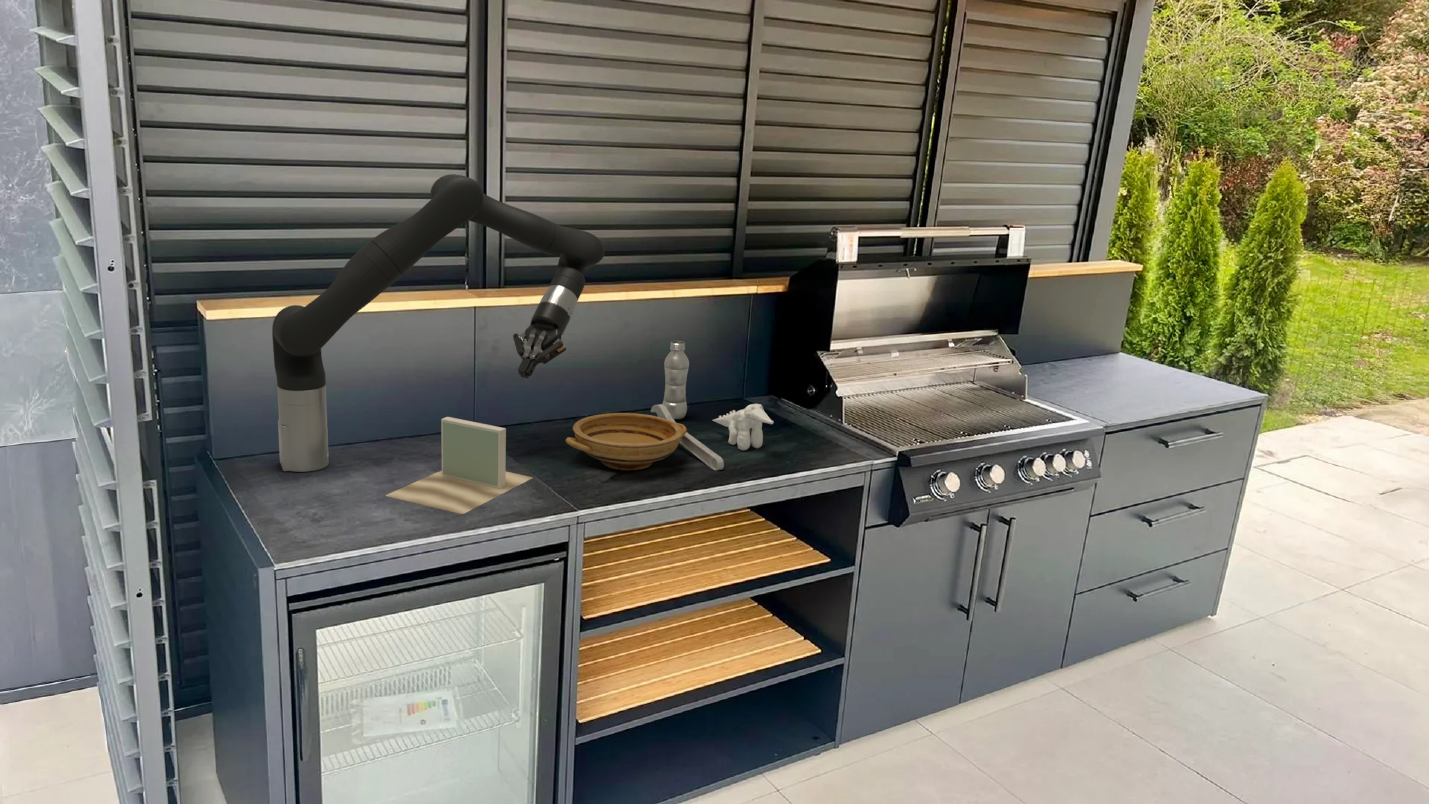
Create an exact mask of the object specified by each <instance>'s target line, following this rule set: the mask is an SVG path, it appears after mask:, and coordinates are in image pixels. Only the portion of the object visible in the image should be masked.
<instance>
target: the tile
mask: <svg viewBox="0 0 1429 804" xmlns="http://www.w3.org/2000/svg"><path fill="white" fill-rule="evenodd" d="M440 421H441V422H440V423H441V424H440V425H441V427H440V428H441V429H440V430H441V431H440V433H441V435H440V437H441V438H440V439H441V443H440V444H441V470H442V476H446V477H450V478H455V479H459V480H464V481H468V482H473V483H477V484H482V485H486V486H490V487H495V488H499V489H500V488H502V487H504V486H505V472H507V470H506V467H507V466H506V460H507V459H506V457H507V456H506V455H507V454H506V452H507V450H506V447H507V444H506V443H507V439H506V438H507V428H505V427H501V426H495V425H491V424H486V423H482V422H475V421H470V420H465V419H460V418H456V417H452V416H446V417H443V418H441V419H440Z"/></svg>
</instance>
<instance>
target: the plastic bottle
mask: <svg viewBox="0 0 1429 804" xmlns="http://www.w3.org/2000/svg"><path fill="white" fill-rule="evenodd" d="M669 349H670V352H669V353H668V354H667V355H666V357H665V360H664V365H663V367H664V377H665V378H664V379H665V380H664V382H665V386H664V393H663V394H664V396H663V401H662V404H663V405H665V406H666V408H667V409H668V411H669V413H670V415H671V416H672V418H673V419H674V420H682V419H684V417H685V416H686V415H687V411H688V407H687V406H688V405H687V397H686V394H687V392H686V386H687V377H688V373H689V367H690V361H689V358H688V356H687V355H686V353H685V350H686V343H685V341H682V340H672V341H670V347H669Z"/></svg>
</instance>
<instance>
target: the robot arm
mask: <svg viewBox="0 0 1429 804" xmlns="http://www.w3.org/2000/svg"><path fill="white" fill-rule="evenodd" d="M466 222H472V223H476V224H478V225H481V226H484V227H486V228H489V229H492V230H494V231H496V232H498V233H500V234H503V235H505V236H506V237H509V238H510V239H512V240H515V241H516V242H519V243H521V244H523V245H525V246H528V247H529V248H531V249H534V250H537V251H539V252H541V253H543V254H546V255H549V256H555V255H560V256H559V259H558V263H557V267H556V271H555V274H554V275H553V278H552V280H551V282H550V284H549V286H548V287H547V289H546V291H544V293H543V295H542V297H541V299H540V301H539V304H538V305H537V307H536V310H535V312H534V313H533V315H532V317H531V320H530V325H529V326H528V327H527V328H526V329H525V330H524V332H523V333H520V334H518V333H514V334H513V335H512V338H513V342H514V345H515V348H516V352H517V354H518V356H519V357H520V359H521V360H522V361H521V362H520V364H519V366H518V368H517V371H518V375H519V376H520V377H521V378H522V379H529V378H530V377H531V376H532V375H533V373H534V371H535V369H536V367H537V366H538V365H540V364H543V365H544V364H545V365H546V364H547V363H549V362H551V361H553V359H555V358H557V357H558V356H560V355H561V354H563V353H564V352H566V350H567V347H566V345H565V344H564V342H563V341H562V336H563V335H564V334H565V333H564V332H565V331H566V329H567V326H569V325H568V324H569V323H570V321H571V318H572V316H573V314H574V312H575V310H576V306H577V303H578V300H579V299H580V297H581V295H582V292H583V290H584V288H585V285H586V279H585V276H584V274H585V272H587V270H588V269H589V268H591V267H593V266H595V265H597V264H598V263H600V262H601V261H602V260H603V258H604V257H605V252H606V251H605V246H604V243H603V242H602V241H601V239H600V238H598V236H597V235H595V234H592V233H590V232H589V231H585V230H582V229H578V228H572V227H567V226H562V225H559V224H557V223H555V222H553V221H551V220H549V219H546V218H545V217H542V216H539V215H537V214H535V213H532V212H530V211H527V210H524V209H521V208H518V207H515V206H513V205H509V204H508V203H504V202H502V201H500V200H497V199H495V198H493V197H491V196H489V195H488V194H485V193H484V192H483V189H482V187H481V184H479V183H478V181H476V180H475V179H473V178H471V177H468V176H465V175H462V174H457V173H455V174H454V173H453V174H452V173H451V174H450V173H449V174H445V175H443V176H441V177H438V179H435V182H434V183H433V184H432V186H431V189H430V200H429V201H428V202H427V203H426V204H425V205H423V206H422V207H421V208H420V209H419V210H418V211H416V212H415V213H413V215H411V216H409V217H407V218H406V219H404V220H403V221H401V222H399V223H396V224H395V225H393V226H391V227H389V228H387V229H386V230H384V231H382V232H381V233H379V234H377V235H376V236H375V237H373V238H372V239H371V240H370V241H369V242H368V243H366V244H365V245H364V246H363V247H362V248H360V249H359V250H358V251H357V252H355V254H354V255H353V256H351V257H350V259H349V260H347V262H346V264H345V265H344V266H343V268H342V269H341V271H339V273H338V275H337V276H336V278H335V279H334V280H333V281H332V283H331V284H330V285H329V286H328V288H327V289H325V290H324V292H322V293H321V294H320V295H318V296H317V297H316V298H314V299H313V300H311V302H309V303H308V304H306V305H305V306H304V305H300V304H299V305H298V304H293V305H288V306H286V307H284V308H282V309H280V310H279V312H278V313H277V314H276V316H274V318H273V321H272V326H271V327H272V331H271V333H272V334H271V335H272V336H271V337H272V351H273V361H274V364H273V365H274V371H275V375H276V382H277V383H276V386H277V404H278V406H277V407H278V419H277V429H278V451H279V463H280V466H281V468H282V471H283V472H295V473H296V472H299V473H302V472H303V473H304V472H305V473H307V472H314V471H318V470H321V469H322V470H323V469H324V468H326V467H327V466H329V454H330V453H329V439H328V437H329V434H328V432H329V431H328V407H327V385H326V384H327V382H326V381H327V380H326V371H325V367H324V365H323V364H324V363H323V357H322V348H323V347H324V346H326V344H327V343H328V342H329V340H331V339H332V338H333V336H334V335H335V334H336V333H337V332H338V331H339V330H341V328H342V327H343V326H344V325H345V324H346V323H347V322H348V321H349V320H350V319H351V318H352V317H353V316H354V315H356V314H357V313H358V312H359V311H360V310H362V309H363V308H365V307H366V306H367V305H368V304H370V303H371V302H372V301H373V300H374V299H376V298H377V297H378V296H379V295H380V294H382V293H383V292H384V291H386V290H387V289H388V288H389V287H390V286H392V285H393V284H394V283H396V281H398V280H399V279H400V278H401V277H402V276H403V275H404V274H406V272H408V271H409V270H410V269H411V268H412V267H413V266H414V265H415V264H417V262H418V261H420V260H421V259H422V258H423V257H424V256H425V255H426V254H427V253H429V251H430V250H431V249H432V248H433V247H434V246H436V244H437V243H439V242H440V241H441V240H442V239H444V238H445V237H446V236H448V235H449V234H451V233H452V232H453V231H455V230H457V228H459V227H461V226H462V225H464V224H466Z"/></svg>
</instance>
